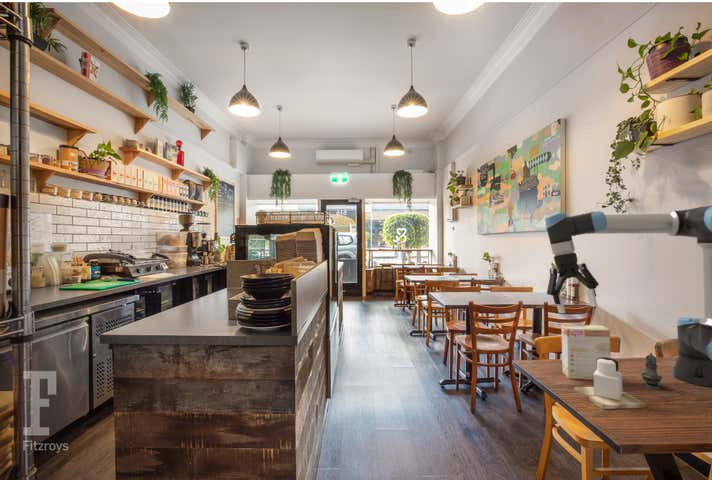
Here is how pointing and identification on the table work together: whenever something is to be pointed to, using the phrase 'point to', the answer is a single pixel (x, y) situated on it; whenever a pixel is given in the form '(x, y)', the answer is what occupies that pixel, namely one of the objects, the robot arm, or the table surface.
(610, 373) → the medicine bottle
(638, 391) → the table surface
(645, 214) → the robot arm
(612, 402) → the maple board
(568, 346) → the coffeecake box
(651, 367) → the grey chess piece
